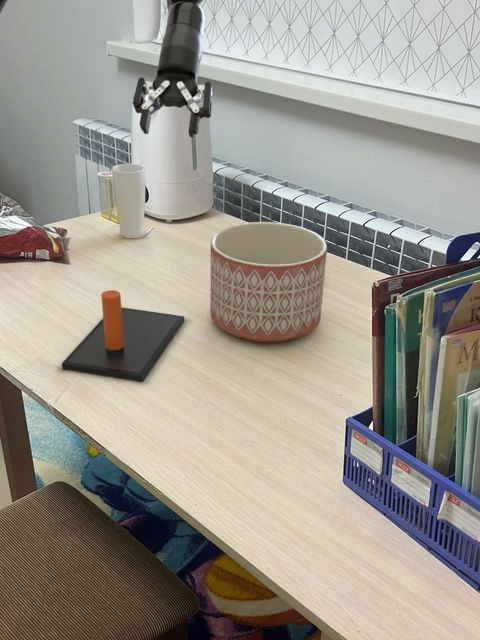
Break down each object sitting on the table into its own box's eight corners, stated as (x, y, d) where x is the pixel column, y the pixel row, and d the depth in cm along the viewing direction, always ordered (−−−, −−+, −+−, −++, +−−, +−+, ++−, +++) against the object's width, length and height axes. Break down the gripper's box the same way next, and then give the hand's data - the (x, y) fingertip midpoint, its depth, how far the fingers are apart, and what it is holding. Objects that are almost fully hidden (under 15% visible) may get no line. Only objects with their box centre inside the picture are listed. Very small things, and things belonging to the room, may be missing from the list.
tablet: (62, 369, 106) (61, 363, 105) (114, 311, 122) (113, 305, 122) (142, 382, 103) (142, 376, 103) (184, 321, 120) (184, 316, 120)
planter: (194, 306, 125) (193, 229, 118) (289, 290, 132) (293, 216, 125) (236, 358, 110) (238, 273, 103) (339, 336, 118) (349, 256, 110)
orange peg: (103, 354, 108) (98, 296, 103) (110, 345, 110) (105, 289, 105) (120, 357, 107) (115, 299, 102) (127, 348, 110) (123, 291, 104)
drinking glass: (126, 227, 157) (122, 162, 150) (153, 232, 156) (150, 166, 148) (111, 237, 152) (106, 169, 144) (138, 242, 150) (135, 174, 142)
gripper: (138, 40, 127) (124, 118, 123) (215, 45, 125) (203, 124, 121) (147, 67, 134) (134, 141, 130) (220, 71, 133) (209, 147, 129)
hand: (168, 133), depth 126 cm, fingers open, 8 cm apart
